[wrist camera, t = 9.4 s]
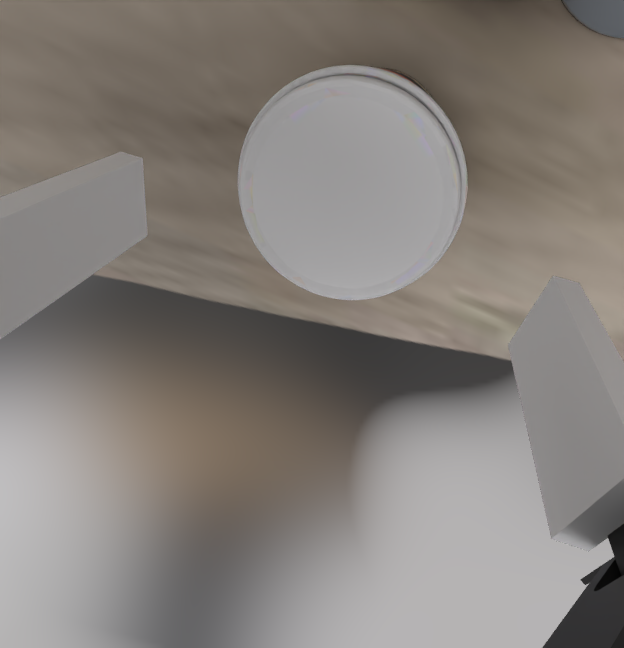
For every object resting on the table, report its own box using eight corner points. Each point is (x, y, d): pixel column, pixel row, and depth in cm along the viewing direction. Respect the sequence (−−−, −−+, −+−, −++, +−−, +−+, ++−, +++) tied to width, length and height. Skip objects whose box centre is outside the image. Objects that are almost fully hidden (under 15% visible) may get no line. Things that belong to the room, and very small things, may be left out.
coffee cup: (482, 74, 22) (519, 108, 13) (421, 229, 28) (415, 331, 19) (319, 31, 23) (241, 34, 14) (292, 192, 29) (223, 272, 19)
